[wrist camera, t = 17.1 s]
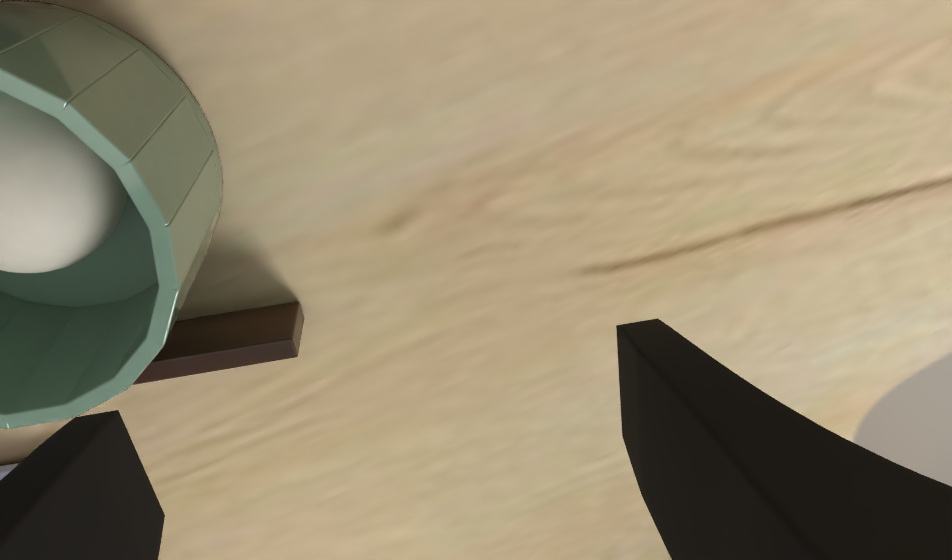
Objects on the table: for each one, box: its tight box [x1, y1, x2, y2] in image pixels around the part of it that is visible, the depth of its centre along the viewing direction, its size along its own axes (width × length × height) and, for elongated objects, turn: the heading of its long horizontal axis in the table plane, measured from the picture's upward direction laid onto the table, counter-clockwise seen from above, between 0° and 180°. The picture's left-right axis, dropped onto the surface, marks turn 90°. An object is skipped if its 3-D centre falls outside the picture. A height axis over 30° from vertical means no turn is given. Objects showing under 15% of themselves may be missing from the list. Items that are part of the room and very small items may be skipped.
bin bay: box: [132, 302, 304, 385], centre depth 19 cm, size 11×10×2 cm
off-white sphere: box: [0, 91, 128, 273], centre depth 17 cm, size 4×4×4 cm
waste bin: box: [0, 1, 223, 429], centre depth 17 cm, size 8×8×5 cm
